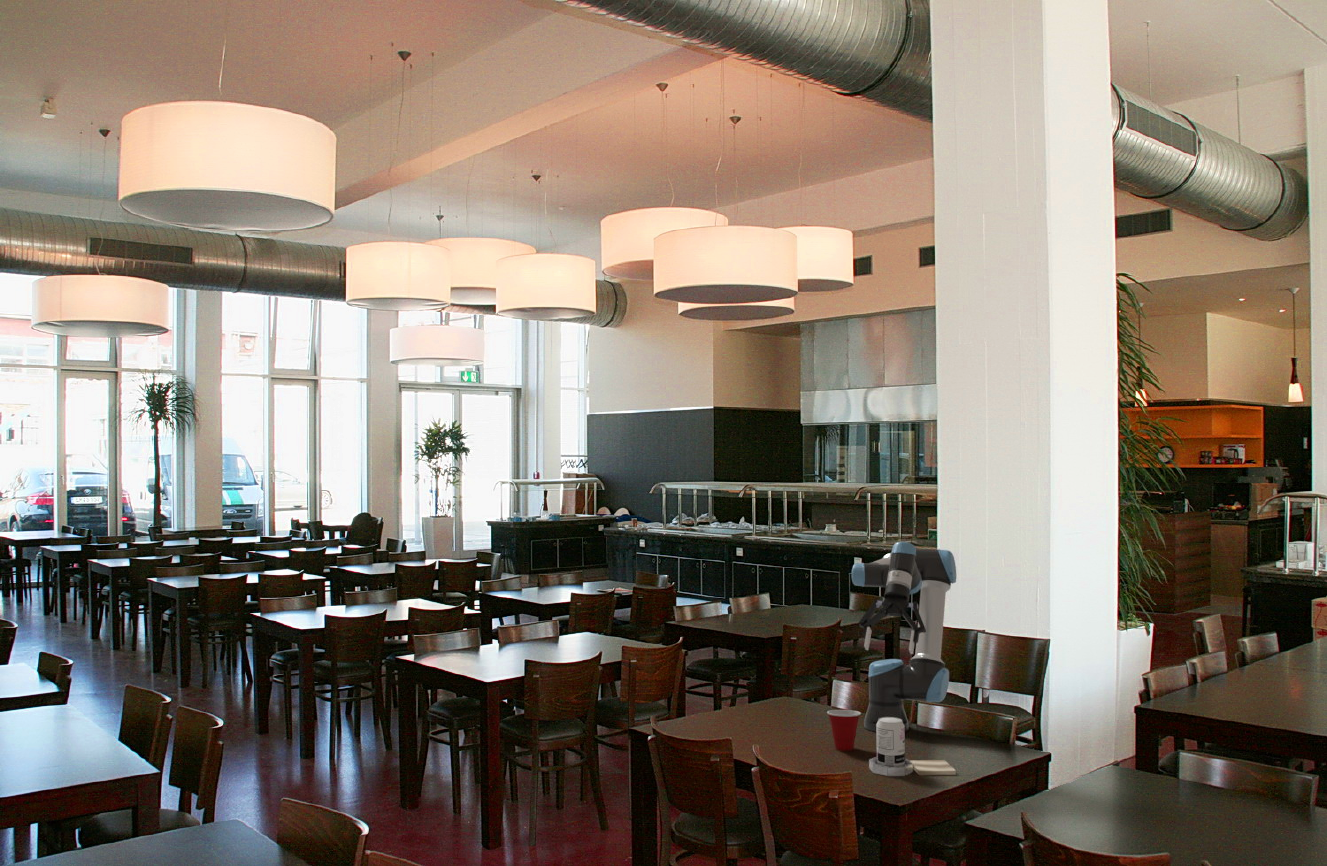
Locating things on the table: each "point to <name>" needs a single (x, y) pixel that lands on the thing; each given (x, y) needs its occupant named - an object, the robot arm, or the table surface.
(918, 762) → the board
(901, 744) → the supplement can
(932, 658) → the robot arm
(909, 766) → the collar
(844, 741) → the plastic cup
